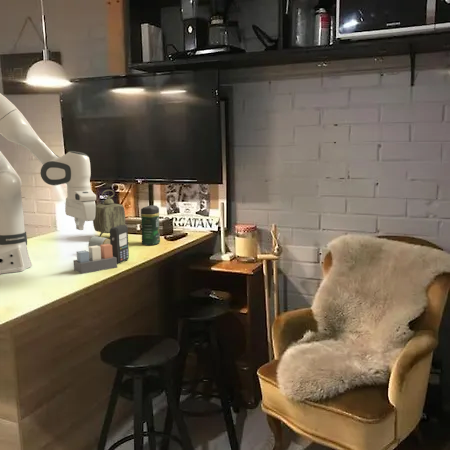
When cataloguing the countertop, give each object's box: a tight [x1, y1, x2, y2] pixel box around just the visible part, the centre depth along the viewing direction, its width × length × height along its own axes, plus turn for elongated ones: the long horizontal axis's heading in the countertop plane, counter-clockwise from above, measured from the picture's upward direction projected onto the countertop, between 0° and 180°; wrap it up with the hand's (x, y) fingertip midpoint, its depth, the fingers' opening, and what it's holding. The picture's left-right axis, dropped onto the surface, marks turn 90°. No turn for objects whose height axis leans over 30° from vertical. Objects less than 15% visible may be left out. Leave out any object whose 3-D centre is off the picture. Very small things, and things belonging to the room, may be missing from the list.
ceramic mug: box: [87, 235, 110, 249], centre depth 249 cm, size 11×8×8 cm
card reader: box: [109, 224, 130, 265], centre depth 230 cm, size 9×4×15 cm, turn 160°
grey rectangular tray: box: [73, 257, 118, 275], centre depth 220 cm, size 15×8×4 cm, turn 127°
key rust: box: [100, 244, 113, 259], centre depth 222 cm, size 4×4×6 cm
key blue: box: [76, 250, 89, 263], centre depth 216 cm, size 4×4×6 cm
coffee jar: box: [140, 204, 161, 246], centre depth 265 cm, size 10×8×19 cm
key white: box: [88, 245, 101, 261], centre depth 219 cm, size 4×4×6 cm
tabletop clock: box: [92, 189, 126, 237], centre depth 279 cm, size 14×9×25 cm, turn 133°
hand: (79, 229), depth 215 cm, fingers closed
